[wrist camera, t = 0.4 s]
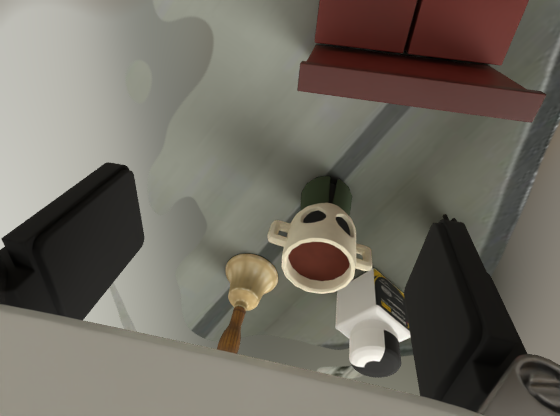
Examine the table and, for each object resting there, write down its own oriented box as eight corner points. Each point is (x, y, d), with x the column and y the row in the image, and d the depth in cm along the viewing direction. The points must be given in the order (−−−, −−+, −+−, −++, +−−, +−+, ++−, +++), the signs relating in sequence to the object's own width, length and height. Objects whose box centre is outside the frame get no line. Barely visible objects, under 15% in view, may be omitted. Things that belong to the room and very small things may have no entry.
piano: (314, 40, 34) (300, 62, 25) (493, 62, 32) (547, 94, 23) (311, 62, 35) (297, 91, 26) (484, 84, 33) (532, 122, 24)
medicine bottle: (406, 295, 50) (420, 373, 40) (368, 314, 53) (371, 390, 43) (374, 266, 48) (379, 340, 38) (336, 288, 51) (332, 361, 42)
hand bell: (257, 245, 49) (222, 341, 36) (288, 283, 53) (267, 384, 39) (215, 264, 53) (170, 357, 40) (247, 298, 56) (215, 395, 43)
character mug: (379, 185, 41) (389, 257, 30) (358, 230, 45) (359, 307, 34) (291, 159, 41) (270, 222, 30) (278, 206, 45) (255, 276, 34)
